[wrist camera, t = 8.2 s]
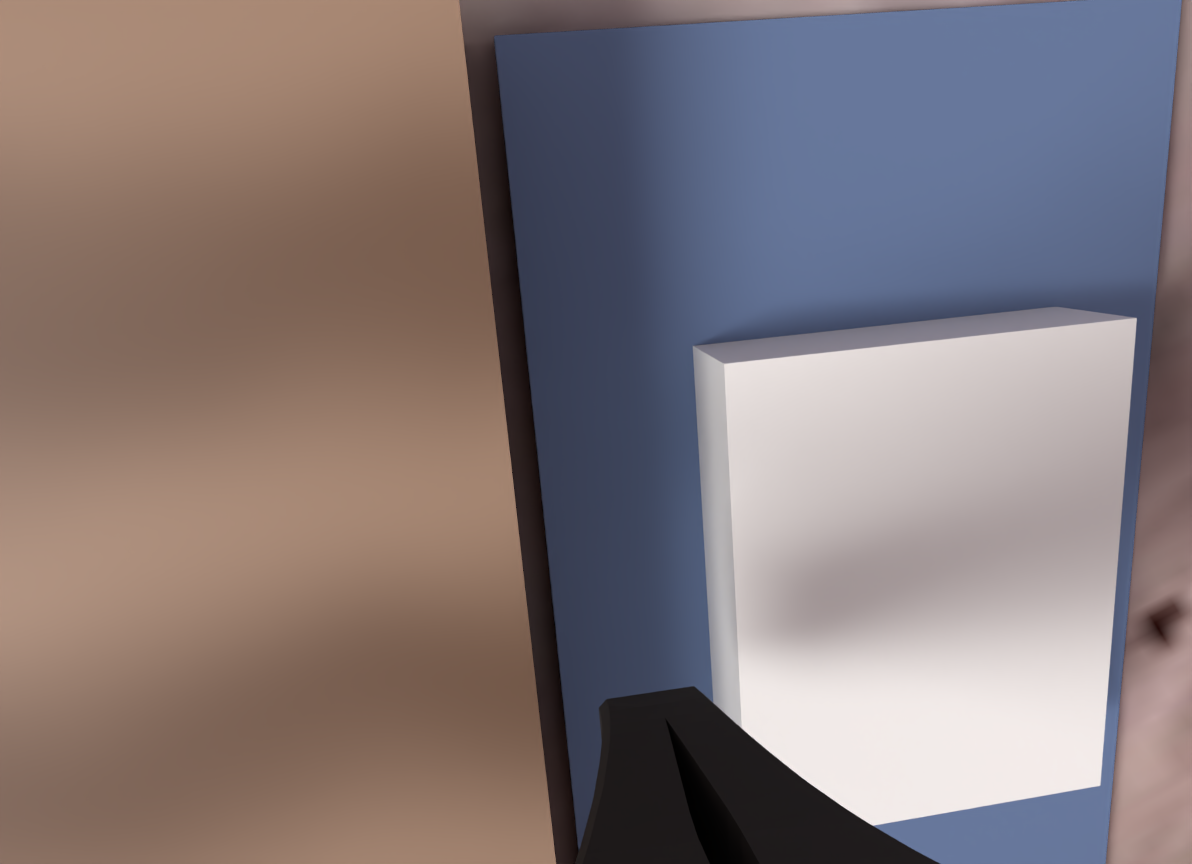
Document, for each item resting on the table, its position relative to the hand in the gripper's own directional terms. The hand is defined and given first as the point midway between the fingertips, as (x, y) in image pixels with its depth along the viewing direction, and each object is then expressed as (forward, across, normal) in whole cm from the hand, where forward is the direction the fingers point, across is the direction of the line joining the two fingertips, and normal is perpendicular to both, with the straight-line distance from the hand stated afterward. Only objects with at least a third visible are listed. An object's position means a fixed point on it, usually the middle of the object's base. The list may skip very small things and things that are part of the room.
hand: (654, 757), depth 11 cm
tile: (+3, -6, 0) cm, 6 cm away
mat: (+5, -5, 0) cm, 7 cm away
